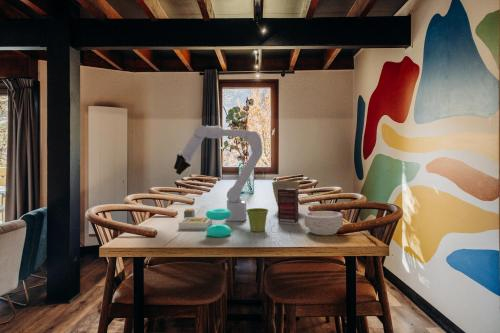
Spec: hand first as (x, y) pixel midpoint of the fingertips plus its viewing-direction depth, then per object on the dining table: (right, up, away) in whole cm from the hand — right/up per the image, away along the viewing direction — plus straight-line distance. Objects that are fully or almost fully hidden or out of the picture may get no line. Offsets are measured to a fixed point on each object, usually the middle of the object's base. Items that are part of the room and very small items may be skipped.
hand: (176, 171), depth 170 cm
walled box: (+12, -24, -14) cm, 30 cm away
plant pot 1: (+39, -25, -23) cm, 51 cm away
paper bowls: (+65, -25, -28) cm, 75 cm away
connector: (+7, -24, -2) cm, 25 cm away
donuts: (+23, -25, -29) cm, 45 cm away
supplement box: (+53, -24, -9) cm, 59 cm away
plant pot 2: (+55, -22, +22) cm, 64 cm away
